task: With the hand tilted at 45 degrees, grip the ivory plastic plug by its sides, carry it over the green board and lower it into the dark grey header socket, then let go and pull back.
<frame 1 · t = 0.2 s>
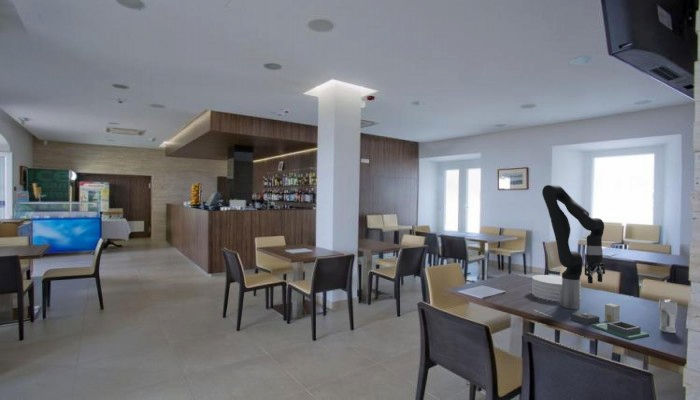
hand: (595, 282, 202), 18 cm above the table, tool pointing down, fingers open, 8 cm apart
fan: (585, 320, 191), on the table
beer glass: (667, 331, 178), on the table
butter knife: (553, 318, 197), on the table
board: (619, 330, 177), on the table
plate stack: (555, 297, 238), on the table
plug: (611, 322, 190), on the table
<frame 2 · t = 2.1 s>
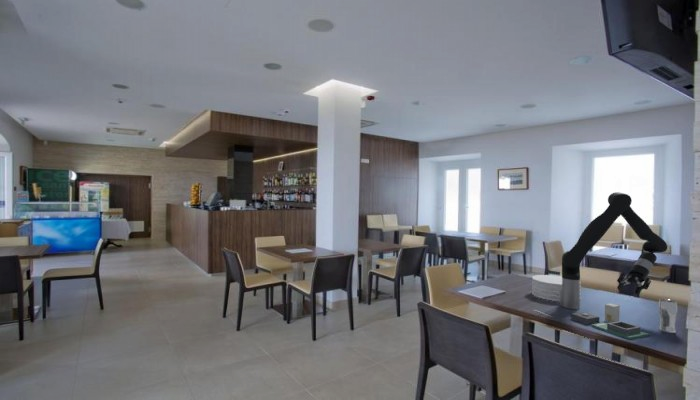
hand: (627, 291, 194), 15 cm above the table, tool tilted 45°, fingers open, 8 cm apart
nothing on the table moved.
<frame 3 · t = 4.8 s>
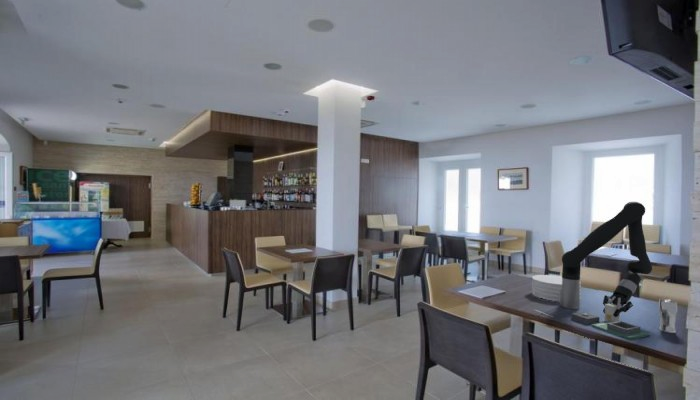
hand: (609, 314, 189), 4 cm above the table, tool tilted 45°, fingers closed on plug, 4 cm apart
plug: (611, 321, 190), on the table, touching gripper
everything else where it was.
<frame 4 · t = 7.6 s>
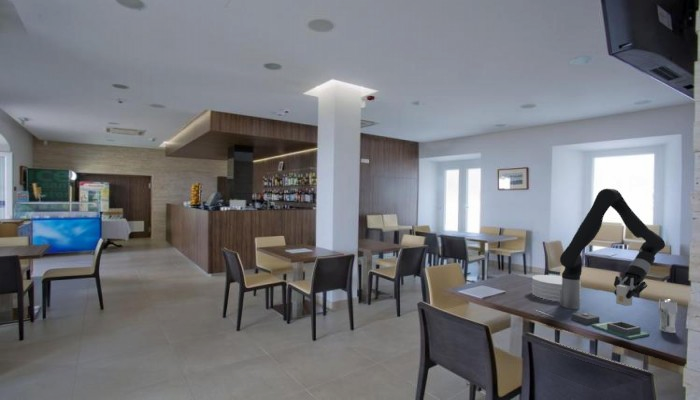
hand: (621, 296, 174), 18 cm above the table, tool tilted 45°, fingers closed on plug, 4 cm apart
plug: (624, 304, 175), point 14 cm above the table, touching gripper
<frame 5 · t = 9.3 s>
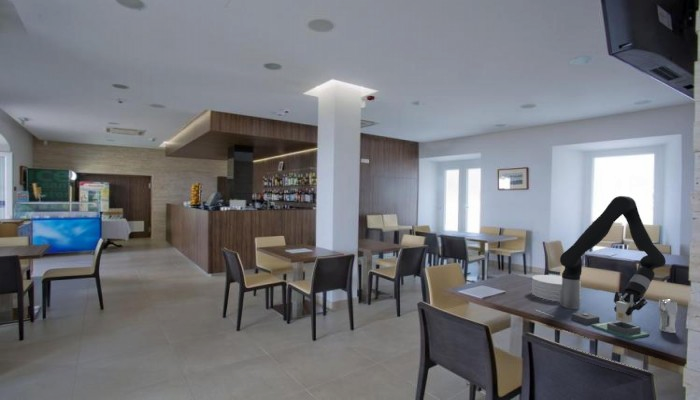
hand: (621, 312, 174), 10 cm above the table, tool tilted 45°, fingers closed on plug, 4 cm apart
plug: (624, 320, 175), point 6 cm above the table, touching gripper
when the fingers open (6 cm above the table, at t = 10.7 s): plug stays where it is, resting on board.
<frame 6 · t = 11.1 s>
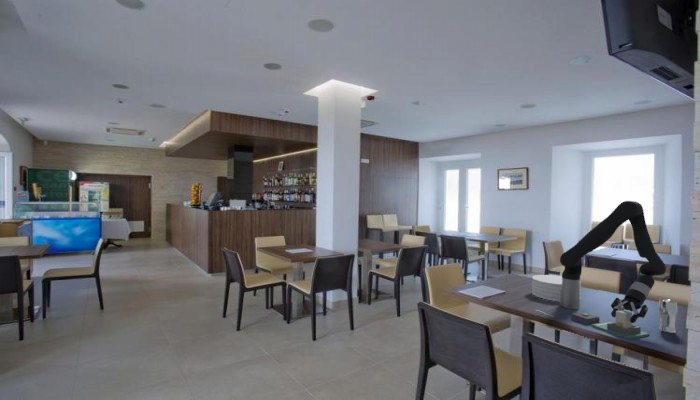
hand: (621, 319, 175), 7 cm above the table, tool tilted 45°, fingers open, 8 cm apart
plug: (623, 330, 175), point 1 cm above the table, touching board
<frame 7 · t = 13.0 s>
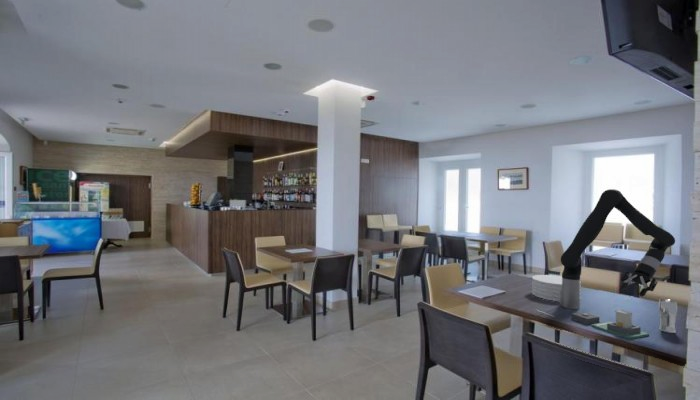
hand: (631, 292, 181), 18 cm above the table, tool tilted 40°, fingers open, 8 cm apart
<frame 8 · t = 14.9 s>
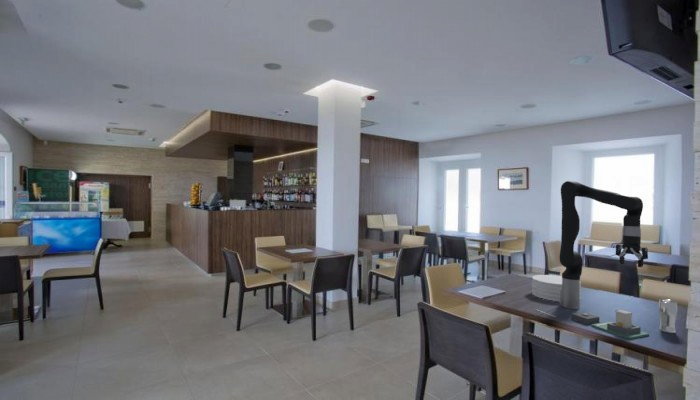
hand: (631, 265, 189), 30 cm above the table, tool pointing down, fingers open, 8 cm apart
at the end: plug 0.1 cm from the target spot on the board, point 1.0 cm above the board's base; plug tilted 0°; the gripper is holding nothing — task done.
